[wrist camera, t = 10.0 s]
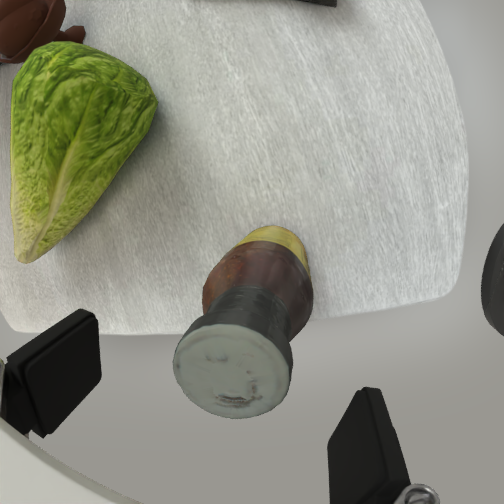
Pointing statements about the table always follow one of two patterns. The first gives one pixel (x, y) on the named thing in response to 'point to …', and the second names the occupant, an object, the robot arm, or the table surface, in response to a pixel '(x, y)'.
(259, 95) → the table surface
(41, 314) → the table surface
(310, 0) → the scale
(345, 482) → the robot arm
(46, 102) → the lettuce
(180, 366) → the sauce bottle
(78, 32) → the ice cream bowl
